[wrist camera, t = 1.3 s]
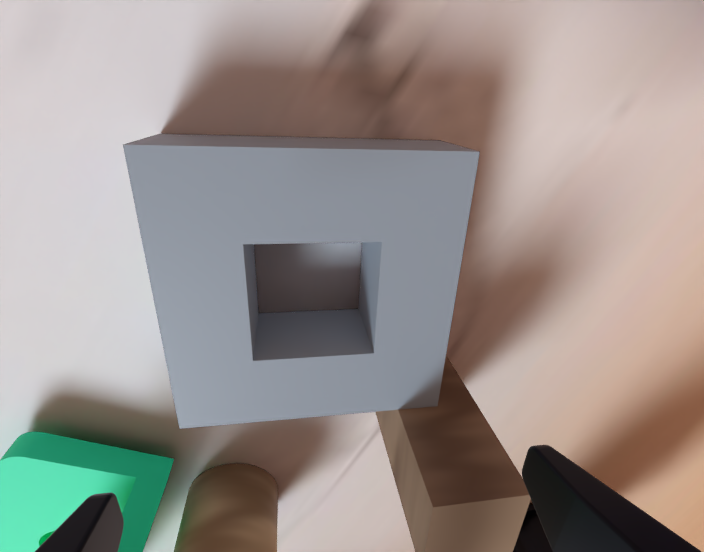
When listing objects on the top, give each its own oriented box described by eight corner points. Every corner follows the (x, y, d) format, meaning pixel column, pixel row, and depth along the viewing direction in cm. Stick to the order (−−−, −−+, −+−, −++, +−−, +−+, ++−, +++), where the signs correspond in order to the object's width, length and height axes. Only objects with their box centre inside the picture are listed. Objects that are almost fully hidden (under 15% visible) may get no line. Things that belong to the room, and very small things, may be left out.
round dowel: (276, 458, 24) (273, 561, 19) (279, 516, 27) (278, 622, 21) (182, 468, 24) (151, 578, 18) (194, 527, 26) (170, 640, 20)
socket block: (440, 140, 18) (479, 151, 14) (413, 357, 23) (437, 406, 19) (159, 133, 16) (123, 144, 12) (197, 371, 21) (179, 428, 17)
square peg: (445, 354, 23) (532, 494, 15) (436, 406, 25) (510, 557, 17) (379, 359, 22) (433, 507, 14) (375, 411, 24) (421, 571, 16)
